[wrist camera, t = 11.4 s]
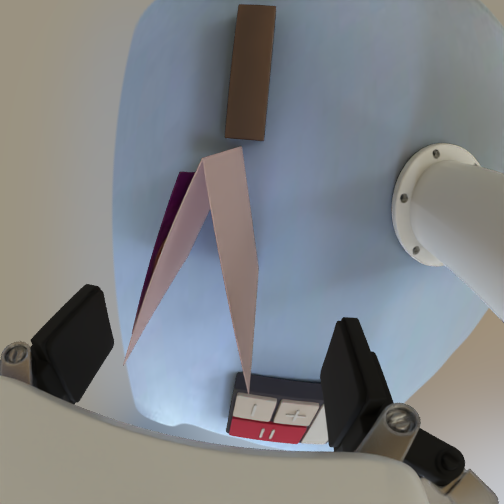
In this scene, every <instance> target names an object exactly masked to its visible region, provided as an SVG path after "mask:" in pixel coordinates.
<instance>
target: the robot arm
mask: <svg viewBox="0 0 504 504" xmlns="http://www.w3.org/2000/svg"><path fill="white" fill-rule="evenodd" d="M401 195H402V198H401V199H400V197H401ZM392 221H393V226H394V230H395V234H396V236H397V238H398V240H399V242H400V244H401V245H402V247H403V248H404V249H405V251H406V252H407V253H408V254H409V255H410V256H411V257H412V258H414V259H415V260H417V261H418V262H420V263H422V264H425V265H428V266H436V267H437V266H446V267H447V268H448V269H450V270H451V271H452V272H453V273H454V274H455V275H456V276H457V277H458V278H459V279H461V280H462V281H463V282H464V283H465V284H466V285H467V286H468V287H469V288H470V289H471V290H472V291H473V292H474V293H475V294H476V295H477V296H478V297H479V298H480V299H481V300H482V301H483V302H484V303H485V304H486V305H487V306H488V307H489V308H490V309H491V310H492V311H493V312H494V313H495V314H496V315H497V316H498V317H499V318H500V319H501V321H502V322H503V323H504V173H500V172H497V171H493V170H490V169H486V168H482V167H481V166H480V164H479V163H478V161H477V160H476V159H475V157H474V156H473V155H472V154H470V153H469V152H468V151H467V150H465V149H463V148H462V147H460V146H457V145H453V144H447V143H438V144H431V145H429V146H427V147H424V148H422V149H421V150H419V151H418V152H417V153H415V154H414V155H413V156H412V157H411V158H410V160H409V161H408V162H407V163H406V164H405V166H404V168H403V169H402V171H401V173H400V175H399V177H398V180H397V182H396V185H395V189H394V193H393V197H392ZM31 342H32V346H31V347H30V346H29V345H28V344H26V343H25V342H21V341H20V342H14V343H11V344H10V345H8V346H7V347H6V348H5V349H4V350H3V352H2V354H1V360H0V504H498V503H499V502H498V498H497V496H496V494H495V493H494V492H493V491H492V490H491V489H490V488H489V487H488V486H487V485H486V484H485V483H484V482H483V481H482V480H481V479H480V478H479V477H478V476H477V475H476V474H475V473H474V472H473V471H472V470H471V469H469V470H465V468H464V467H465V460H464V457H463V455H462V453H461V452H460V451H459V450H458V449H456V448H455V447H453V446H451V445H449V444H447V443H445V442H444V441H442V440H440V439H438V438H436V437H435V436H433V435H431V434H429V433H428V432H426V431H424V430H422V429H421V428H420V424H421V422H420V417H419V415H418V413H417V412H416V410H415V409H414V408H412V407H411V406H409V405H406V404H404V403H393V400H392V397H391V394H390V391H389V389H388V386H387V383H386V380H385V377H384V375H383V372H382V369H381V366H380V364H379V361H378V358H377V356H376V354H375V353H374V352H371V351H370V348H369V346H368V343H367V340H366V338H365V335H364V333H363V330H362V327H361V325H360V322H359V320H358V319H357V318H346V317H343V318H342V320H341V321H337V323H336V326H335V329H334V332H333V335H332V339H331V342H330V345H329V348H328V351H327V354H326V357H325V360H324V363H323V366H322V369H321V373H320V379H321V386H322V393H323V401H324V408H325V416H326V424H327V432H328V441H329V446H330V447H334V452H311V451H282V450H266V449H254V448H244V447H235V446H227V445H220V444H214V443H207V442H202V441H196V440H191V439H186V438H181V437H176V436H172V435H167V434H163V433H159V432H155V431H151V430H148V429H144V428H140V427H137V426H133V425H130V424H127V423H124V422H120V421H117V420H114V419H111V418H108V417H105V416H103V415H100V414H97V413H94V412H92V411H89V410H86V409H84V408H81V407H79V406H76V405H74V404H75V403H76V402H79V401H80V399H81V398H82V396H83V394H84V393H85V391H86V389H87V388H88V386H89V384H90V383H91V381H92V380H93V378H94V376H95V375H96V373H97V372H98V370H99V368H100V367H101V365H102V364H103V362H104V360H105V359H106V357H107V356H108V354H109V353H110V351H111V350H112V348H113V345H114V339H113V335H112V331H111V327H110V323H109V318H108V313H107V308H106V303H105V298H104V294H103V291H101V289H100V288H99V287H98V286H94V285H89V284H86V285H85V286H83V287H82V288H81V289H80V290H79V291H78V292H77V293H76V294H75V295H74V296H73V297H72V298H71V299H70V300H69V301H68V302H67V303H66V304H65V305H64V306H63V307H62V308H61V309H60V310H59V311H58V312H57V313H56V314H55V315H54V316H53V317H52V318H51V319H50V320H49V321H48V322H47V323H46V324H45V325H44V326H43V327H42V328H41V329H40V330H39V331H38V332H37V333H36V335H35V336H34V337H33V338H32V339H31Z"/></svg>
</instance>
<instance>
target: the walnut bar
mask: <svg viewBox="0 0 504 504" xmlns="http://www.w3.org/2000/svg"><path fill="white" fill-rule="evenodd" d="M275 18H276V6H265V5H243V4H239V6H238V13H237V21H236V29H235V37H234V46H233V55H232V64H231V74H230V83H229V94H228V104H227V116H226V127H225V138H231V139H246V140H258V141H264V135H265V125H266V114H267V104H268V93H269V82H270V71H271V61H272V50H273V39H274V28H275Z"/></svg>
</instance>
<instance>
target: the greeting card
mask: <svg viewBox="0 0 504 504" xmlns="http://www.w3.org/2000/svg"><path fill="white" fill-rule="evenodd" d="M210 209H211V214H212V220H213V226H214V231H215V237H216V242H217V247H218V253H219V258H220V263H221V268H222V274H223V279H224V284H225V289H226V294H227V299H228V304H229V309H230V313H231V318H232V323H233V328H234V332H235V337H236V342H237V346H238V351H239V355H240V360H241V364H242V369H243V373H244V378H245V382H246V386H247V391H248V394H249V388H250V376H251V363H252V351H253V338H254V325H255V311H256V298H257V284H258V271H259V267H258V260H257V252H256V245H255V238H254V230H253V223H252V216H251V209H250V201H249V194H248V187H247V180H246V172H245V165H244V158H243V151H242V146H240V147H237V148H233V149H230V150H227V151H223V152H220V153H217V154H214V155H211V156H207V157H204V158H202V160H201V162H200V164H199V166H198V168H197V170H196V172H179V175H178V177H177V180H176V183H175V186H174V188H173V191H172V194H171V197H170V200H169V203H168V206H167V209H166V212H165V215H164V218H163V221H162V224H161V227H160V230H159V233H158V236H157V240H156V243H155V246H154V250H153V253H152V256H151V260H150V263H149V267H148V270H147V274H146V278H145V281H144V285H143V289H142V293H141V297H140V301H139V305H138V309H137V313H136V318H135V322H134V326H133V331H132V337H131V340H130V344H129V347H128V350H127V354H126V357H125V360H124V364H125V362H126V361H127V359H128V357H129V355H130V353H131V352H132V350H133V348H134V346H135V344H136V343H137V341H138V339H139V337H140V336H141V334H142V332H143V330H144V329H145V327H146V325H147V323H148V322H149V320H150V318H151V316H152V315H153V313H154V311H155V310H156V308H157V306H158V305H159V303H160V301H161V299H162V298H163V296H164V294H165V293H166V291H167V289H168V288H169V286H170V285H171V283H172V281H173V280H174V278H175V276H176V275H177V273H178V271H179V270H180V268H181V267H182V265H183V263H184V262H185V260H186V259H187V257H188V255H189V253H190V251H191V249H192V247H193V244H194V242H195V240H196V238H197V236H198V234H199V231H200V229H201V227H202V225H203V223H204V221H205V219H206V217H207V215H208V212H209V210H210ZM124 364H123V365H124Z"/></svg>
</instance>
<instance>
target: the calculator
mask: <svg viewBox="0 0 504 504" xmlns="http://www.w3.org/2000/svg"><path fill="white" fill-rule="evenodd" d="M226 432H227V433H229V435H232V436H237V437H243V438H250V439H256V440H264V441H272V442H281V443H291V444H298V443H305V444H326V443H327V442H328V432H327V424H326V416H325V408H324V401H323V393H322V386H321V383H319V384H318V383H308V382H299V381H291V380H284V379H277V378H270V377H264V376H258V375H252V374H251V376H250V388H249V394H248V391H247V386H246V382H245V378H244V373H238V374H237V376H236V381H235V385H234V390H233V396H232V401H231V406H230V412H229V417H228V423H227V428H226Z"/></svg>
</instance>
